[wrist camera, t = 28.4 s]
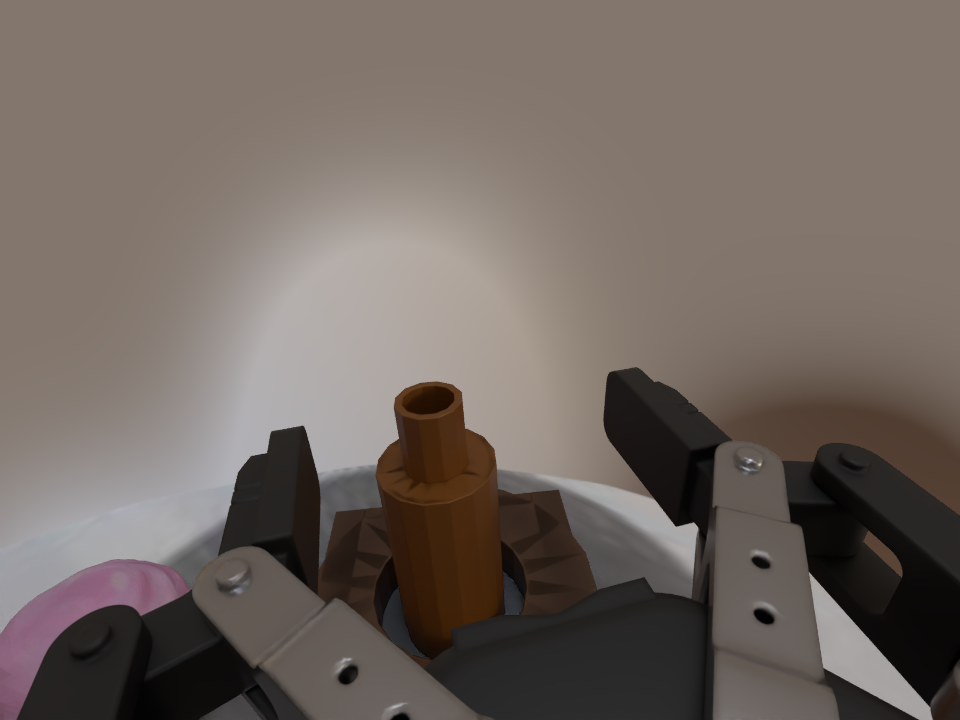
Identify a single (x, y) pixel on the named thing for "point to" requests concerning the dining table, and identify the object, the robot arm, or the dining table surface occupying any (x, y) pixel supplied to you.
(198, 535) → the dining table surface
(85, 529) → the dining table surface
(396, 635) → the dining table surface
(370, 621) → the board
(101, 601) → the cupcake
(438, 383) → the bottle
